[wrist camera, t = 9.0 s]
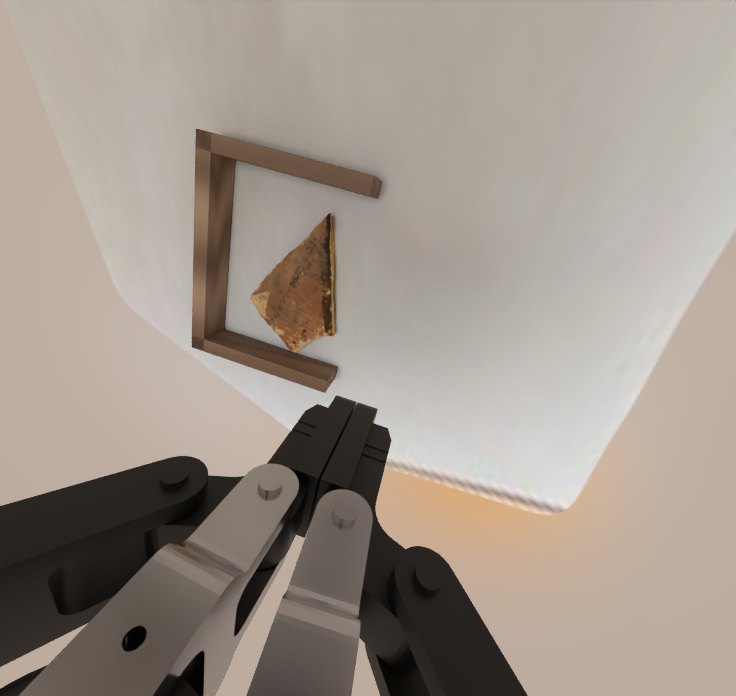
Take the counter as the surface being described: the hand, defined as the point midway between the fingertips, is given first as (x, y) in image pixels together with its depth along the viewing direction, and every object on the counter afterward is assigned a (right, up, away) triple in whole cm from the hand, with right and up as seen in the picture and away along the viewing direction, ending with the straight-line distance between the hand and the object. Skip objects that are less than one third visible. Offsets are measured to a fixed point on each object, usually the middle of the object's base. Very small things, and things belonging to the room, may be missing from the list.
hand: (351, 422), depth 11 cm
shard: (-6, +8, +18) cm, 21 cm away
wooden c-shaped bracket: (-6, +9, +17) cm, 20 cm away
